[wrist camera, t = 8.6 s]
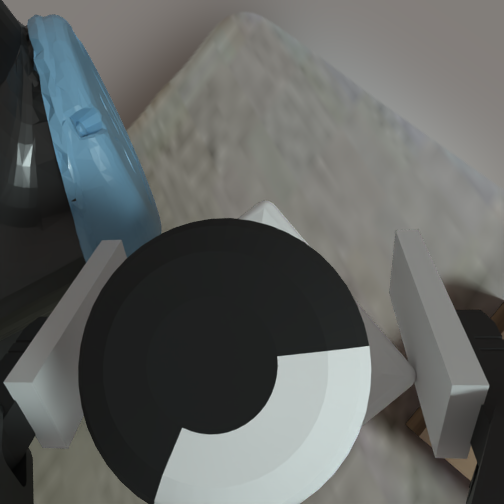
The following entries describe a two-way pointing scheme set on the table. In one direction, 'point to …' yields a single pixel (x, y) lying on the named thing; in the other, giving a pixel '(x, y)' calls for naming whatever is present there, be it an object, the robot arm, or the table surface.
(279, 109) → the table surface
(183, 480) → the medicine bottle
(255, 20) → the table surface
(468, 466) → the walnut plinth
